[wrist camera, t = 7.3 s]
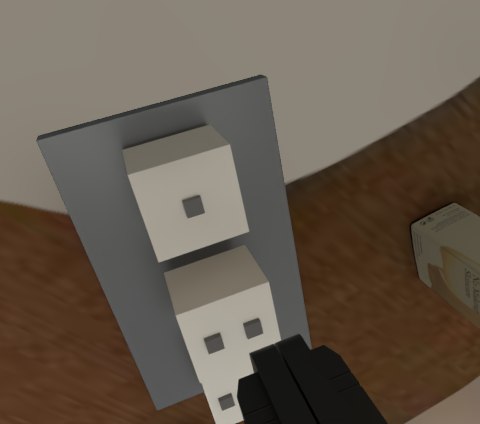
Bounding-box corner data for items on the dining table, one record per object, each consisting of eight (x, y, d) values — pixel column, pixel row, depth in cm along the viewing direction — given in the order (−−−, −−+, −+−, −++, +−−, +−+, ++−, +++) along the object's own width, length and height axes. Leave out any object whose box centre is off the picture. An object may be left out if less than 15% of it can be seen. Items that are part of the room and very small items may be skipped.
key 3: (255, 311, 31) (277, 353, 27) (266, 360, 33) (288, 405, 30) (187, 337, 30) (201, 384, 26) (204, 385, 32) (219, 434, 29)
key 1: (210, 124, 24) (231, 145, 20) (228, 202, 27) (251, 234, 23) (122, 149, 23) (128, 177, 20) (149, 228, 26) (159, 265, 22)
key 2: (245, 244, 26) (270, 284, 22) (259, 308, 28) (285, 353, 24) (163, 272, 25) (176, 319, 21) (186, 335, 27) (201, 387, 24)
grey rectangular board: (261, 74, 26) (267, 77, 25) (306, 340, 36) (311, 348, 35) (38, 135, 23) (36, 140, 23) (155, 400, 34) (157, 410, 33)
